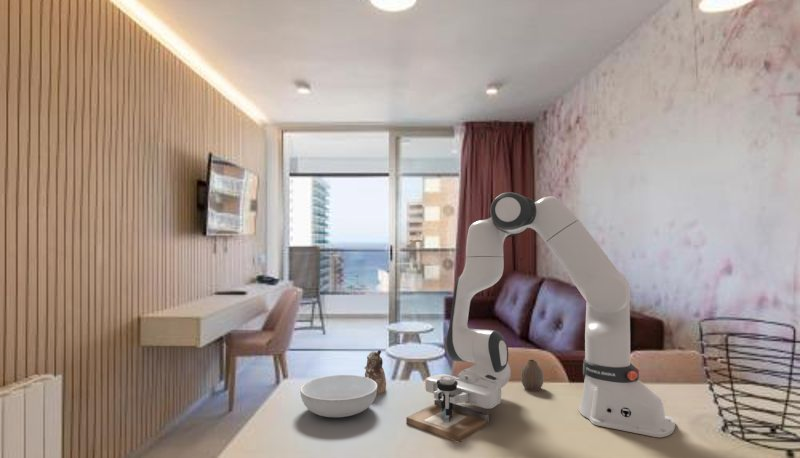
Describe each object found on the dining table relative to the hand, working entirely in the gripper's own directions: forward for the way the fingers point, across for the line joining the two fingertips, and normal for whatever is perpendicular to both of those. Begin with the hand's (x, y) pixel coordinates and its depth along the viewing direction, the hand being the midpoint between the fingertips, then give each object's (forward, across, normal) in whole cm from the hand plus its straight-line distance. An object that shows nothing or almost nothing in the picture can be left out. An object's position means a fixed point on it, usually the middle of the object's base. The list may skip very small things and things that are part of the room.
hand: (443, 398), depth 112 cm
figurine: (-7, -31, +7) cm, 33 cm away
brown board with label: (-1, 0, +7) cm, 7 cm away
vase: (-41, +5, +7) cm, 42 cm away
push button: (-1, 0, +6) cm, 6 cm away
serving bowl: (+11, -27, +7) cm, 30 cm away
